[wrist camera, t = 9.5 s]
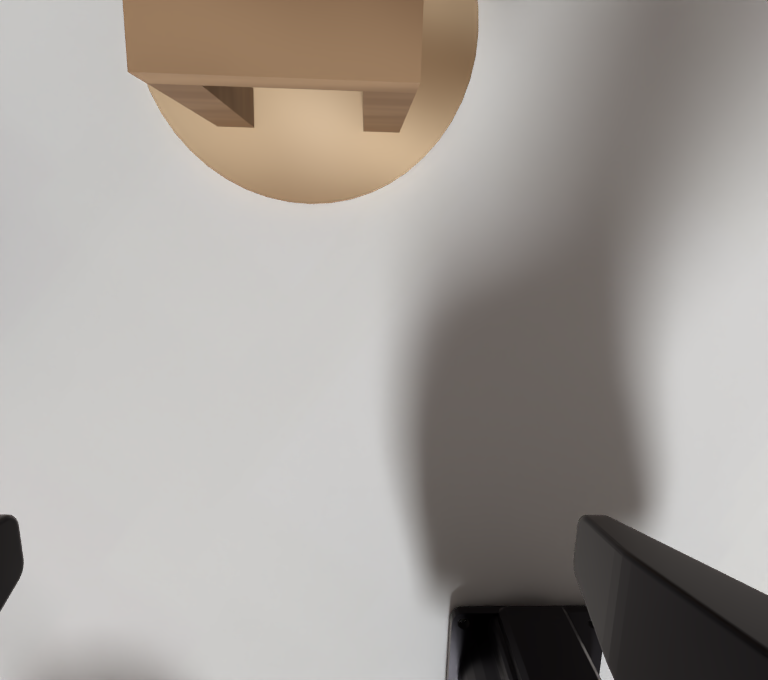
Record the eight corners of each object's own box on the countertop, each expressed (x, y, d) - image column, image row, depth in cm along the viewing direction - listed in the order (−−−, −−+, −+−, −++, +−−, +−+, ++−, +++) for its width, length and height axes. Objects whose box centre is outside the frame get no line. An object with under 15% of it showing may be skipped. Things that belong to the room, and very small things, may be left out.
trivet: (465, 207, 19) (468, 207, 19) (151, 200, 19) (144, 199, 18) (485, -157, 17) (489, -169, 16) (125, -175, 17) (116, -189, 16)
